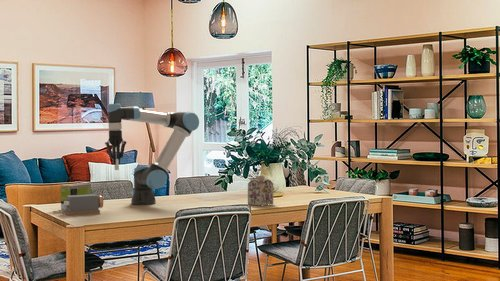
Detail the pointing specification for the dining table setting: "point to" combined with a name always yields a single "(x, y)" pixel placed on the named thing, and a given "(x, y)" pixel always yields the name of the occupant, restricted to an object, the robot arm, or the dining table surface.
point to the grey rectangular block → (66, 203)
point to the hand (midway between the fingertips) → (116, 169)
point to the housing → (82, 205)
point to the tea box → (74, 191)
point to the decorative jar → (260, 191)
